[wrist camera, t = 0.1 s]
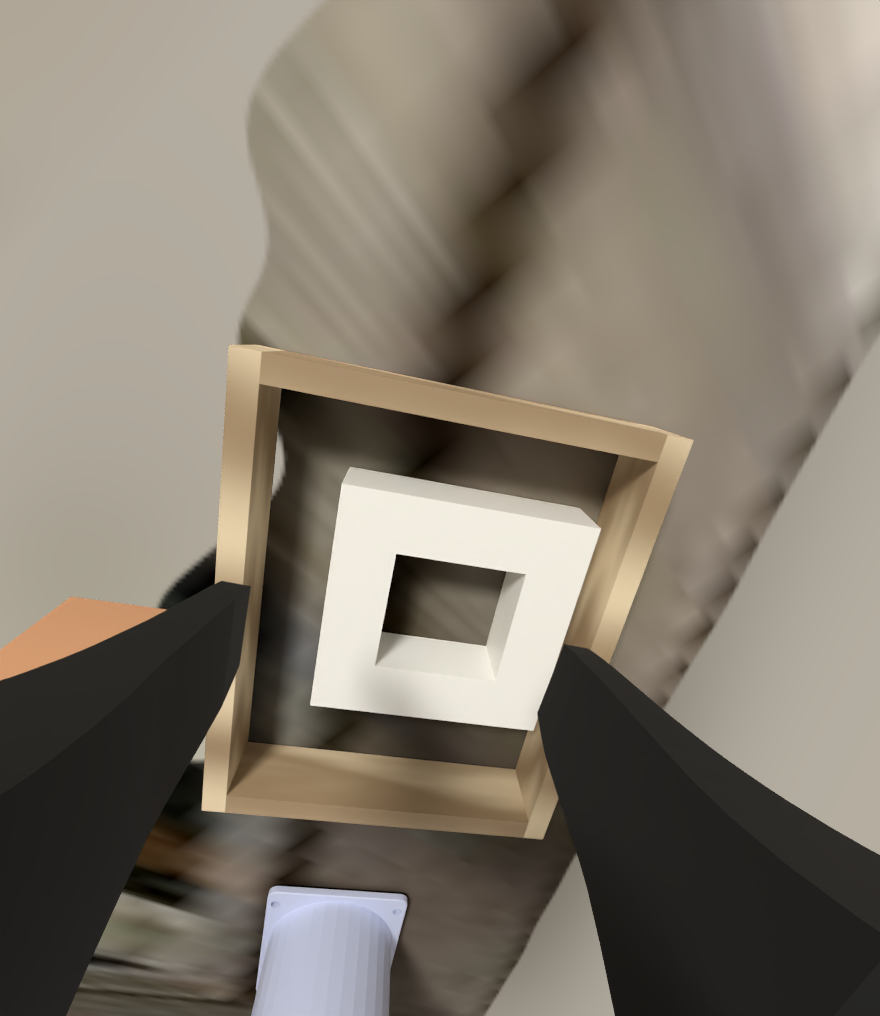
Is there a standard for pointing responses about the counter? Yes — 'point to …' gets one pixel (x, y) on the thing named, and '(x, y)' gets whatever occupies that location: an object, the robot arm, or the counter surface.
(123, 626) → the peg
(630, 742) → the robot arm
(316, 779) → the tray
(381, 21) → the counter surface
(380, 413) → the counter surface
